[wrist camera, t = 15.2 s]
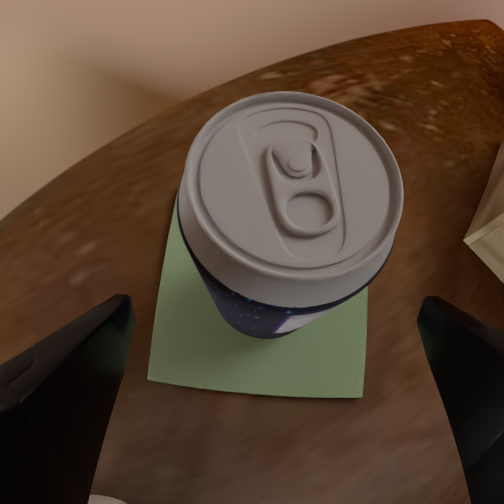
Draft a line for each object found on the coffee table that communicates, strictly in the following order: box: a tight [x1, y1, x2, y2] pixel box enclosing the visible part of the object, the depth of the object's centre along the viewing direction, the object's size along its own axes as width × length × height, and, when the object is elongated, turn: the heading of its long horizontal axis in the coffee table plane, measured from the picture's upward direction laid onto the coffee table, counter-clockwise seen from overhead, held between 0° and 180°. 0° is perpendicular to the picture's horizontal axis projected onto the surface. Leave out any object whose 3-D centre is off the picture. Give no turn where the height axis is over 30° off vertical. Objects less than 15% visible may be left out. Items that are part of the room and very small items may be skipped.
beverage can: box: [177, 91, 404, 339], centre depth 12 cm, size 6×6×12 cm
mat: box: [148, 188, 368, 398], centre depth 18 cm, size 12×12×1 cm
